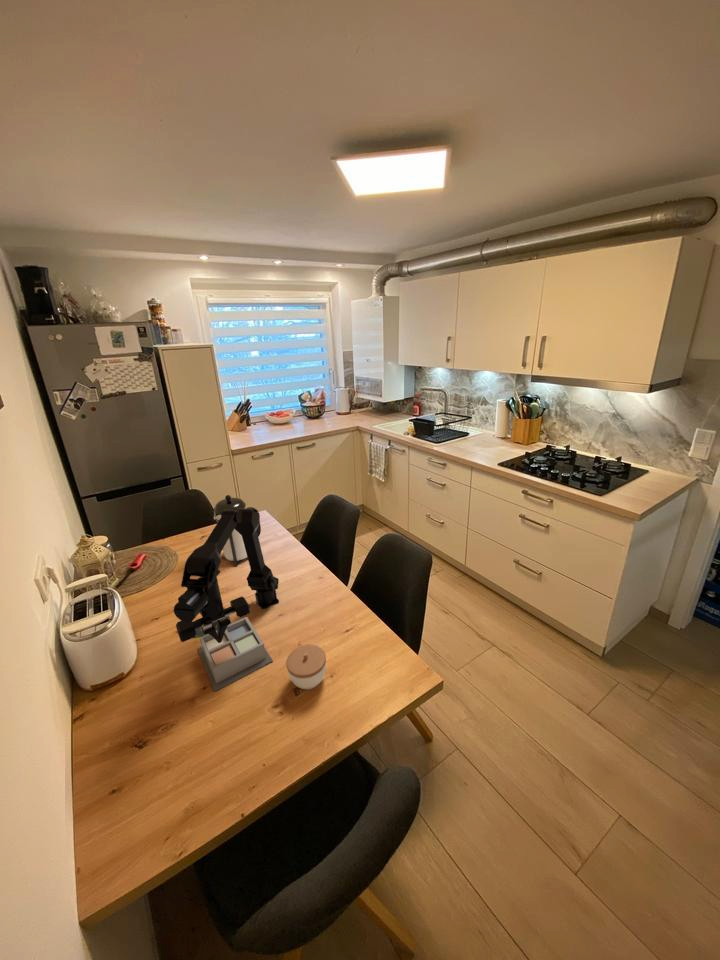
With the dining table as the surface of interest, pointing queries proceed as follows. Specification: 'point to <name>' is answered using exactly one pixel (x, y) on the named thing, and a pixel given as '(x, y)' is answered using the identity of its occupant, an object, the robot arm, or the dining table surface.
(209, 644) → the key cream
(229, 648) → the key terracotta
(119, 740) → the dining table surface
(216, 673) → the keypad base
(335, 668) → the dining table surface
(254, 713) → the dining table surface
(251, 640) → the key sage
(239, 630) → the key slate
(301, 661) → the lidded jar
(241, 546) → the coffee press
